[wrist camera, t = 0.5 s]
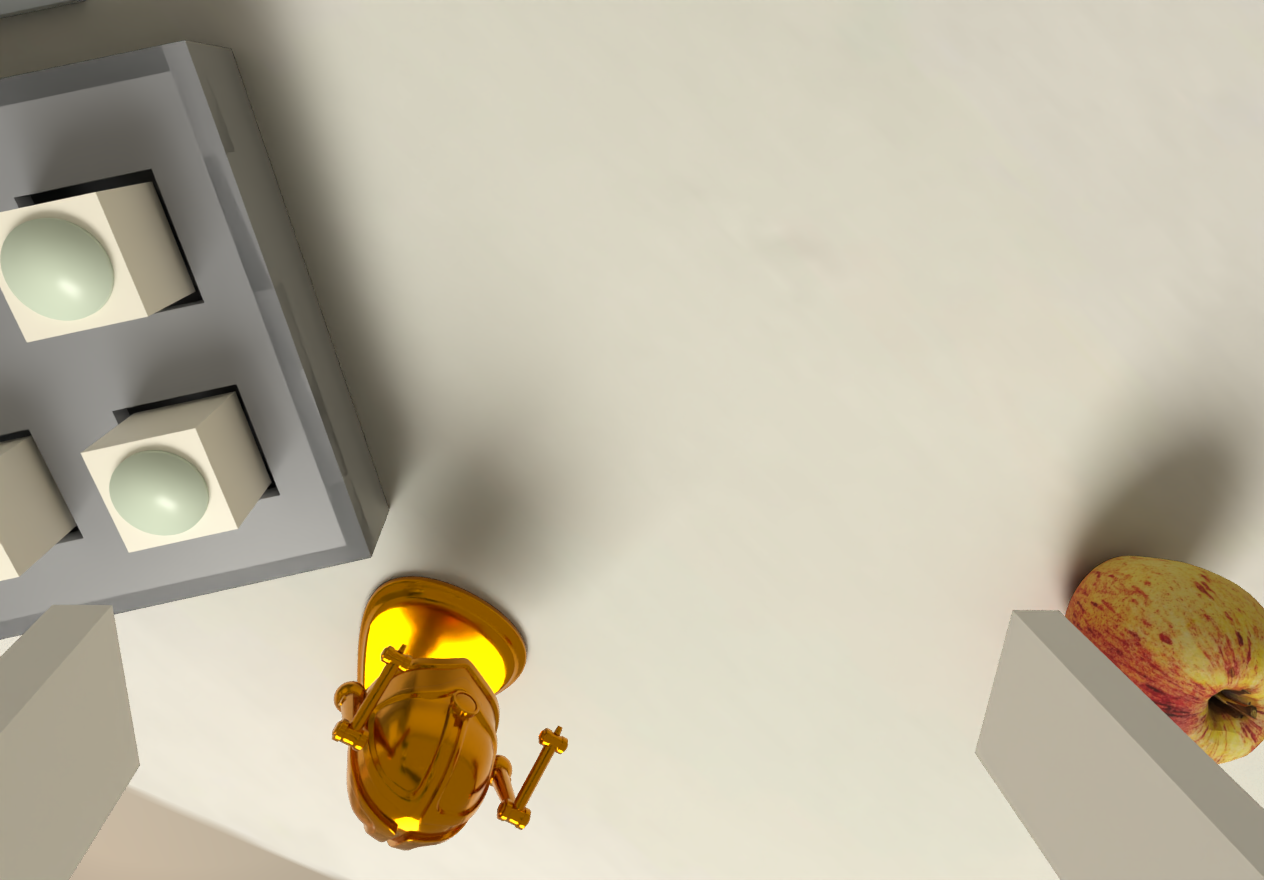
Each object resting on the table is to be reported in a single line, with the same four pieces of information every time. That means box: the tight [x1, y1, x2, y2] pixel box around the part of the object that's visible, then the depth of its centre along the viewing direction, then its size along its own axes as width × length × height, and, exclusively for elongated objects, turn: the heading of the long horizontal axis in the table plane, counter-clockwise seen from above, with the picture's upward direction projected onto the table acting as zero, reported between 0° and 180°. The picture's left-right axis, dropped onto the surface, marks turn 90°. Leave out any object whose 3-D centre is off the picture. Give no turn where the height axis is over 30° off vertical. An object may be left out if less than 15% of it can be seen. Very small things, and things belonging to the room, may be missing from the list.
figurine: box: [332, 576, 568, 850], centre depth 37 cm, size 9×11×12 cm
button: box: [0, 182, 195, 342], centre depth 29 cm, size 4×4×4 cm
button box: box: [0, 40, 389, 640], centre depth 34 cm, size 20×18×4 cm
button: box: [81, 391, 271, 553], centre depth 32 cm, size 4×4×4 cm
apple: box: [1065, 556, 1264, 764], centre depth 41 cm, size 9×9×10 cm
